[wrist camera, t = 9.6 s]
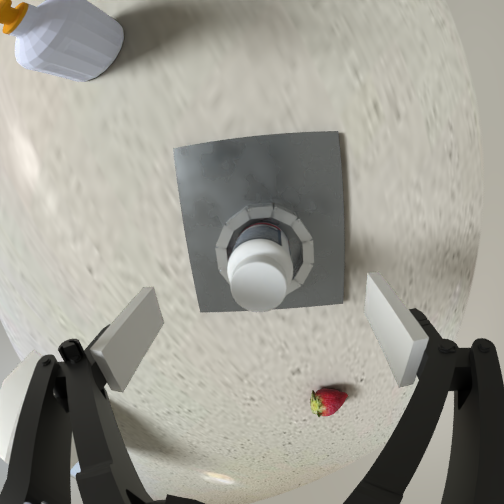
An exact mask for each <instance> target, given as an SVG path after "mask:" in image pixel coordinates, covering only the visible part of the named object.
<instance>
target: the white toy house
mask: <svg viewBox="0 0 504 504" xmlns="http://www.w3.org/2000/svg"><path fill="white" fill-rule="evenodd" d="M41 357H43V356H42V355H41V354H40V353H38V352H37V351H36V350H33V351H32V352H31V353H30V354H29V355H28V356H27V357H26V358H25V359H24V360H23V361H22V362H21V363H20V364H19V365H18V366H17V367H16V368H15V369H14V370H13V371H12V372H11V373H10V374H9V375H8V377H6V378H5V380H4V381H3V384H2V386H1V389H0V458H1V459H3V460H4V461H5V462H6V463H7V464H9V461H10V455H11V450H12V445H13V440H14V435H15V431H16V427H17V423H18V419H19V415H20V412H21V408H22V405H23V402H24V398H25V395H26V392H27V389H28V386H29V383H30V380H31V378H32V375H33V372H34V369H35V367H36V364H37V362H38V360H39V359H41ZM77 462H78V456H77V452H76V447H75V443H74V437H73V432H72V442H71V461H70V470H71V469H72V468H73V466H74V465H75V464H76V463H77Z"/></svg>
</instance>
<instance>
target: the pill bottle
mask: <svg viewBox="0 0 504 504" xmlns="http://www.w3.org/2000/svg"><path fill="white" fill-rule="evenodd" d="M227 273H228V278H229V281H230V289H231V293H232V296H233V298H234V299H235V301H236V302H237V303H238V304H239V305H240V306H241V307H243V308H245V309H247V310H249V311H252V312H266V311H270V310H272V309H274V308H276V307H277V306H278V305H280V304H281V302H282V301H283V300H284V298H285V296H286V293H287V288H288V287H289V285H290V283H291V281H292V278H293V262H292V257H291V251H290V245H289V241H288V238H287V236H286V235H285V233H284V232H283V231H282V230H281V229H280V228H279V227H277V226H276V225H274V224H271V223H267V222H258V223H254V224H251V225H249V226H248V227H246V228H245V229H244V230H243V231H242V232H241V233H240V235H239V237H238V239H237V241H236V244H235V246H234V248H233V251H232V253H231V256H230V258H229V261H228V266H227Z"/></svg>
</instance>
